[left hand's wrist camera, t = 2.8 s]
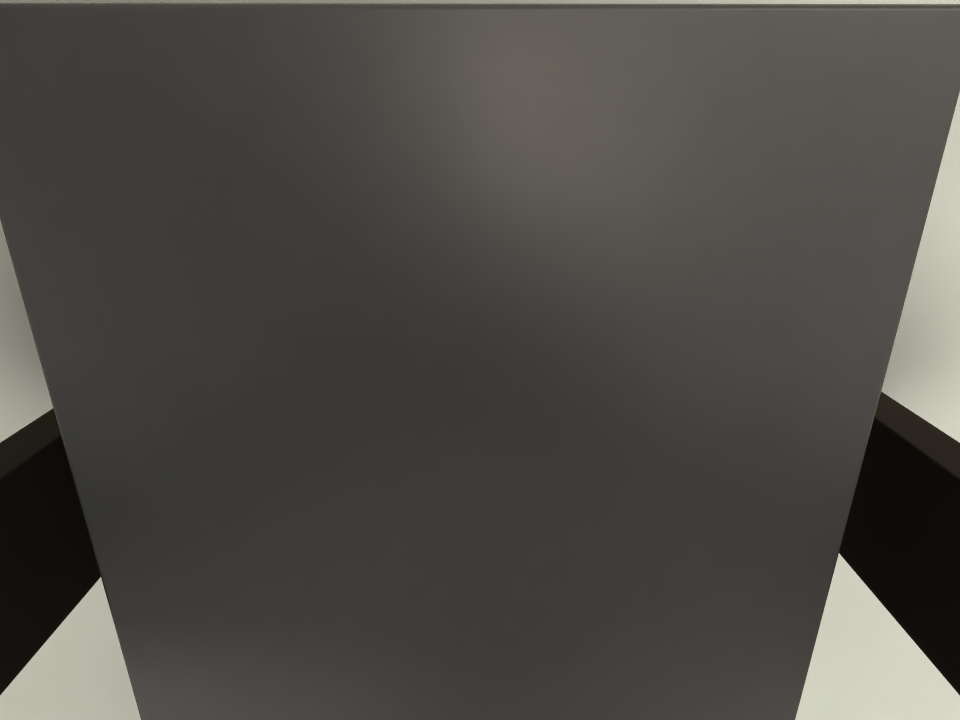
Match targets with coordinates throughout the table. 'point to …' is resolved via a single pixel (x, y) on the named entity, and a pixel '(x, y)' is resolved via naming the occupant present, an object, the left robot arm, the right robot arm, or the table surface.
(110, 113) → the long grey beam
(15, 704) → the table surface
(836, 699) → the table surface
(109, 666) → the table surface
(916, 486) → the left robot arm
